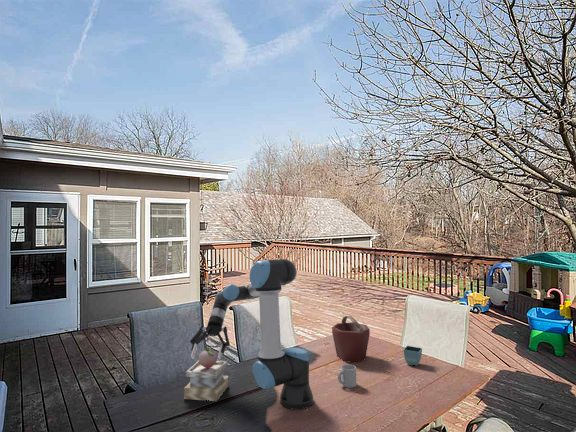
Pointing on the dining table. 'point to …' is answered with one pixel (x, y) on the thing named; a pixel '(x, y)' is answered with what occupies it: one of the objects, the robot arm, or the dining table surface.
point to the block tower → (206, 382)
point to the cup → (347, 376)
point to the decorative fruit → (207, 358)
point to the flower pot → (412, 355)
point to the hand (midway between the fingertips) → (205, 358)
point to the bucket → (351, 340)
